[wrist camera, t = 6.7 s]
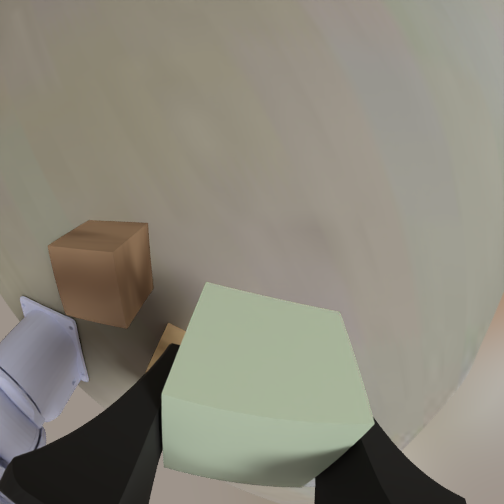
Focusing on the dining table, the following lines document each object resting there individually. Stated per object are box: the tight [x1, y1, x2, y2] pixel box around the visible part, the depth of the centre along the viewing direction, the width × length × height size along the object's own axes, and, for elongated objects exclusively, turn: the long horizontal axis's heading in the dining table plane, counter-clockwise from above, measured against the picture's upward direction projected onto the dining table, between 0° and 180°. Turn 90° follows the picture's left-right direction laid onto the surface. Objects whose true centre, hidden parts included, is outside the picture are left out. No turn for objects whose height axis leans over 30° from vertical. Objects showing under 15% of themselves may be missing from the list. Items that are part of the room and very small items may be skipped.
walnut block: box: [48, 220, 154, 329], centre depth 16 cm, size 5×5×5 cm
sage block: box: [162, 282, 375, 487], centre depth 8 cm, size 5×5×5 cm
